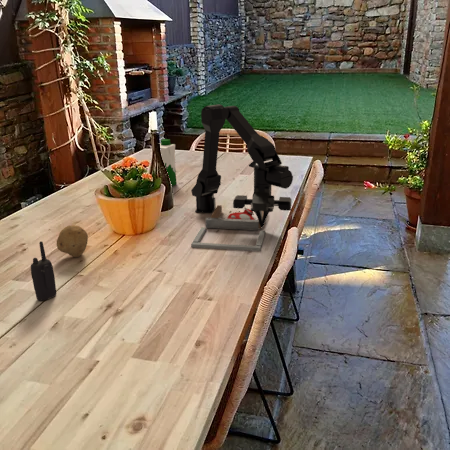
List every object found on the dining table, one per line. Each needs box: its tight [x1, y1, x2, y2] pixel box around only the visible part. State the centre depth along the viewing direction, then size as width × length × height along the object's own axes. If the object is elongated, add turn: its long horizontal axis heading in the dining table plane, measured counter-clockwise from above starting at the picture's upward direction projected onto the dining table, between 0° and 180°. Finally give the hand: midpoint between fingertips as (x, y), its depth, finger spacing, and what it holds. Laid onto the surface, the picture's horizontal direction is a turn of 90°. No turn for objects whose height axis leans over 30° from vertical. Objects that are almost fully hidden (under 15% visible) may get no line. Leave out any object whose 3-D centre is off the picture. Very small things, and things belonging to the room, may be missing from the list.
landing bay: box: [190, 227, 266, 252], centre depth 152 cm, size 22×14×1 cm, turn 79°
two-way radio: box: [30, 241, 57, 302], centre depth 117 cm, size 6×4×15 cm
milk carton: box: [159, 138, 177, 187], centre depth 208 cm, size 9×9×20 cm
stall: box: [209, 204, 264, 230], centre depth 169 cm, size 18×15×2 cm
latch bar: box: [204, 217, 260, 231], centre depth 160 cm, size 18×2×3 cm, turn 79°
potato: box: [56, 224, 89, 258], centre depth 141 cm, size 9×9×10 cm
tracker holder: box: [227, 207, 256, 220], centre depth 167 cm, size 12×4×10 cm
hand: (262, 226), depth 158 cm, fingers closed
